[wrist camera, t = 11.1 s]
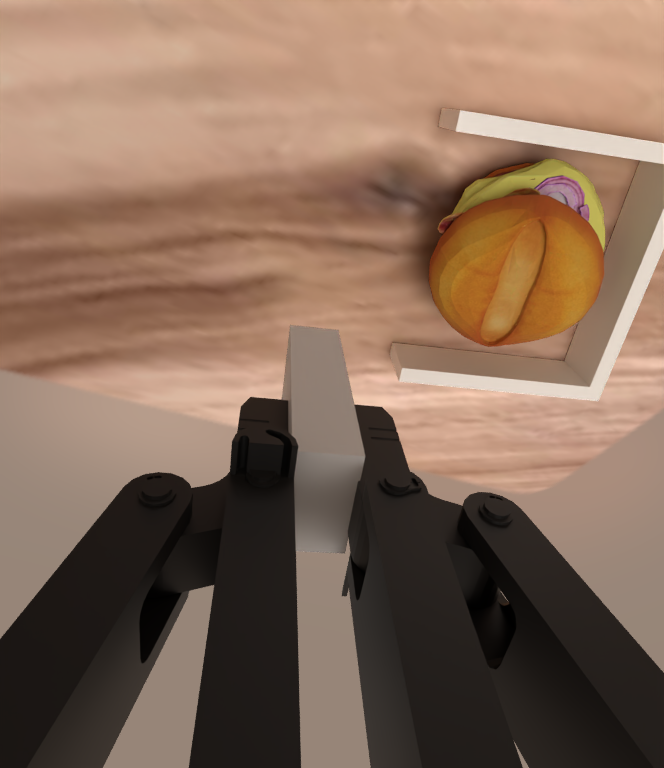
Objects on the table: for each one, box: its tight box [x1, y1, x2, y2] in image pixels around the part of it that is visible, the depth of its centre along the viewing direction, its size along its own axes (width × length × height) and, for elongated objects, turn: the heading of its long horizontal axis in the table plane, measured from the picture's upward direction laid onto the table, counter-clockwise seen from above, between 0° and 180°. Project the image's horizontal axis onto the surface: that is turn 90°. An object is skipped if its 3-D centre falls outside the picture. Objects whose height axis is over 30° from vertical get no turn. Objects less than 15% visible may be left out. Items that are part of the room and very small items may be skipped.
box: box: [390, 108, 664, 401], centre depth 35 cm, size 14×16×4 cm
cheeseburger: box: [429, 159, 605, 347], centre depth 33 cm, size 10×11×10 cm
